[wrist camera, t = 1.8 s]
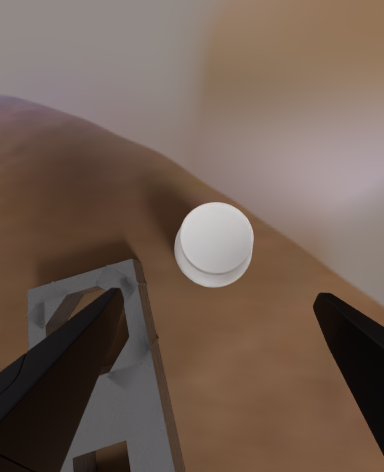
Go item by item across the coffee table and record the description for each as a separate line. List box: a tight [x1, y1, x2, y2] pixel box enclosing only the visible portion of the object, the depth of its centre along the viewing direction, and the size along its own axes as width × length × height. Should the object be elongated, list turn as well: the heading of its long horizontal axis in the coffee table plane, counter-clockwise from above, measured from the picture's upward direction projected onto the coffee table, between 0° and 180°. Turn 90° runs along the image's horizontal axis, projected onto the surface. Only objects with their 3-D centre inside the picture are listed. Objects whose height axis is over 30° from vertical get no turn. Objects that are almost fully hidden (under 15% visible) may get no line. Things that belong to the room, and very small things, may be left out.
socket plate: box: [26, 259, 185, 472], centre depth 15 cm, size 20×10×2 cm, turn 17°
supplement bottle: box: [174, 202, 254, 287], centre depth 14 cm, size 5×5×10 cm
